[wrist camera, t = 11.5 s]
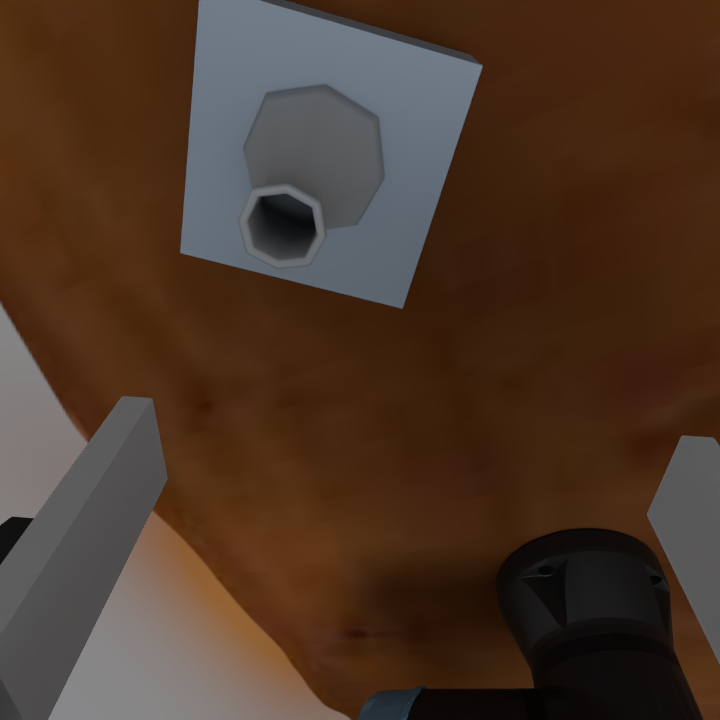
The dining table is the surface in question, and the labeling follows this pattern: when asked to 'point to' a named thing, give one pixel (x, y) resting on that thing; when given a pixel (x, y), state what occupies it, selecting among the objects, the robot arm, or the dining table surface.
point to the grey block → (353, 80)
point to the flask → (307, 172)
